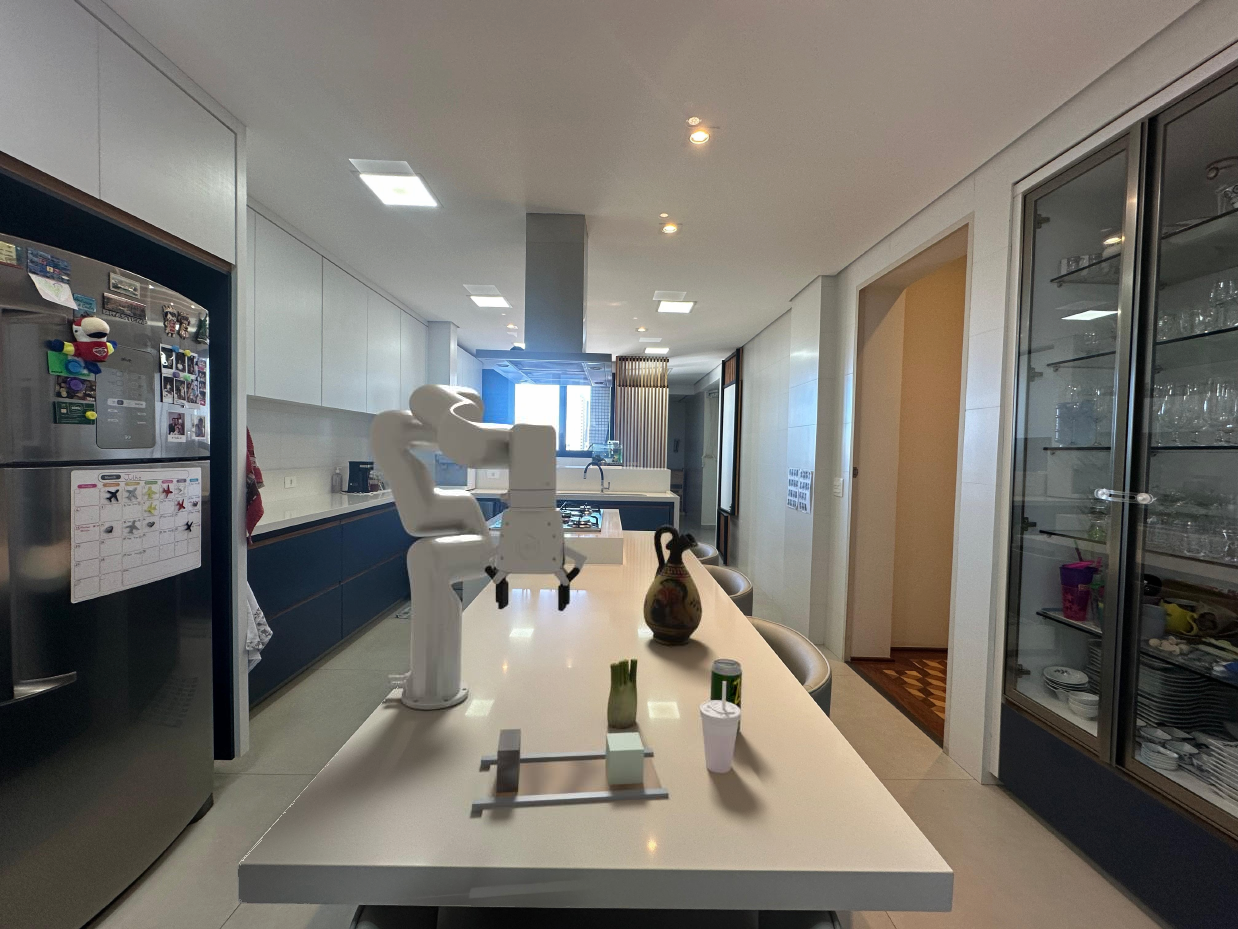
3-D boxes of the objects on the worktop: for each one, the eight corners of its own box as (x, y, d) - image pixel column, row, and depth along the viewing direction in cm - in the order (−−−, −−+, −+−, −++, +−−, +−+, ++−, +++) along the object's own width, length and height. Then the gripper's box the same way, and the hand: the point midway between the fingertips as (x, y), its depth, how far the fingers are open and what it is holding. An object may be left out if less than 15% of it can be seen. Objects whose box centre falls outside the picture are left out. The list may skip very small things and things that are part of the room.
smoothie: (730, 787, 83) (733, 693, 83) (690, 773, 86) (693, 683, 86) (745, 767, 88) (748, 679, 88) (707, 754, 92) (709, 669, 92)
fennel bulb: (635, 719, 103) (637, 654, 103) (640, 732, 99) (642, 664, 98) (604, 721, 103) (605, 655, 102) (608, 734, 98) (609, 666, 97)
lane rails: (471, 812, 76) (472, 804, 76) (481, 763, 88) (481, 756, 88) (668, 801, 79) (668, 793, 79) (652, 755, 91) (652, 748, 91)
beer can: (707, 735, 98) (709, 667, 98) (711, 721, 103) (713, 656, 103) (738, 740, 97) (740, 671, 96) (741, 726, 102) (743, 660, 102)
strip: (491, 804, 77) (492, 756, 77) (497, 767, 86) (498, 725, 86) (662, 794, 81) (663, 749, 81) (650, 760, 90) (651, 719, 89)
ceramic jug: (710, 637, 151) (714, 526, 150) (685, 654, 138) (689, 532, 137) (654, 625, 160) (657, 520, 159) (626, 640, 147) (629, 525, 146)
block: (609, 785, 82) (610, 750, 82) (605, 765, 87) (606, 733, 86) (643, 783, 82) (644, 749, 82) (637, 764, 87) (638, 732, 87)
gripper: (471, 502, 87) (471, 612, 87) (582, 502, 85) (582, 616, 85) (488, 499, 94) (488, 601, 94) (590, 499, 93) (590, 604, 92)
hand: (532, 608), depth 90 cm, fingers open, 9 cm apart
